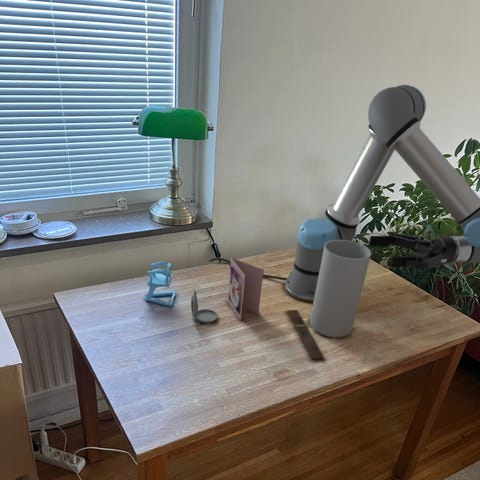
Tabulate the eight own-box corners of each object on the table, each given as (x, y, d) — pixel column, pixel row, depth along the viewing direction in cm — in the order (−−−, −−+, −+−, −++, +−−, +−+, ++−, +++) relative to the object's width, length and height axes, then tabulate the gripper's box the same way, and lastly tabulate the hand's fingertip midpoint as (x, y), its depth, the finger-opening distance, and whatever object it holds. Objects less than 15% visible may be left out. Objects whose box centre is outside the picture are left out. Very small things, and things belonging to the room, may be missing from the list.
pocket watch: (221, 318, 139) (224, 289, 133) (200, 329, 133) (202, 298, 128) (202, 307, 143) (204, 278, 138) (181, 317, 138) (182, 287, 132)
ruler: (287, 312, 145) (287, 310, 144) (296, 312, 145) (296, 309, 145) (312, 360, 125) (312, 357, 125) (322, 359, 126) (323, 357, 125)
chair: (149, 291, 149) (148, 257, 142) (175, 294, 149) (175, 259, 142) (144, 304, 142) (143, 268, 136) (171, 306, 142) (171, 271, 136)
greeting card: (225, 301, 147) (228, 257, 139) (246, 298, 150) (251, 255, 142) (237, 320, 139) (242, 275, 130) (260, 317, 141) (266, 272, 133)
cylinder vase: (302, 318, 143) (316, 241, 129) (337, 312, 147) (354, 238, 134) (322, 341, 133) (340, 261, 120) (359, 335, 137) (380, 256, 124)
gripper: (471, 282, 125) (398, 284, 121) (422, 244, 146) (359, 245, 141) (480, 256, 121) (406, 257, 117) (429, 221, 142) (364, 221, 137)
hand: (380, 250), depth 129 cm, fingers open, 13 cm apart
